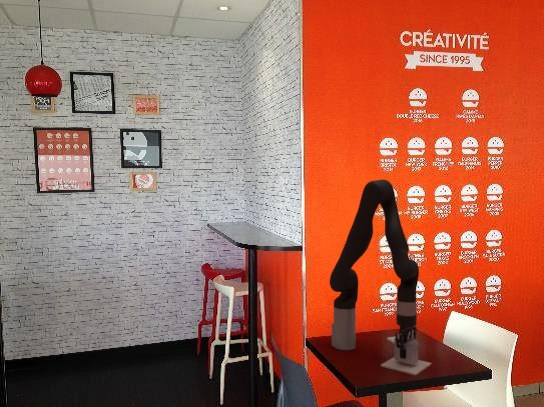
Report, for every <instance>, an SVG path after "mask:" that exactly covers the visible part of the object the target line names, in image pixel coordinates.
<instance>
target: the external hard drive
mask: <svg viewBox="0 0 544 407" xmlns="http://www.w3.org/2000/svg"><path fill="white" fill-rule="evenodd" d="M394 338H396V337H395V336H389V337H386V341H388V342H389V343H392V344H393V345H394ZM418 348H420V344H419V343H418Z"/></svg>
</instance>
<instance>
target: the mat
mask: <svg viewBox="0 0 544 407" xmlns="http://www.w3.org/2000/svg"><path fill="white" fill-rule="evenodd" d="M431 365H432V362H428V361H425V360H420V359H418V362H417V363H415V364H413V365H410V364H407V363H404V362H401V361H398V360H394V356H393V357H392V358H390V359H388V360H387V361H385V362H383V363H381V364H380V367H382V368H386V369H390V370H394V371H397V372H399V373H404V374H408V375H411V376H417V375H419V374H420V373H421V372H423V371H424V370H426V369H428V368H429V367H430V366H431Z"/></svg>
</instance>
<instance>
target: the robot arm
mask: <svg viewBox="0 0 544 407" xmlns="http://www.w3.org/2000/svg"><path fill="white" fill-rule="evenodd" d="M395 193H396V192H395V190H394V186H393V184H392V182H390V181H389V180H387V179H377V180H371V181H368V182H367V183H366V184H365V186H364V187H363V190H362V193H361V196H360V201H359V205H358V209H357V210H356V214H355V217H354V220H353V222H352V225H351V227H350V230H349V231H348V234H347V237H346V240H345V243H344V246H343V248H342V250H341V253H340V255H339V258H338V259H337V262H336V264H335V266H334V268H333V269H332V271H331V273H330V277H329V287H330V289H331V290H332V291H334V292H336V293H340V294H339V295H338V296H336V298H335V299H334V300H333V323H331V347H333V348H335V349H336V350H339V351H351V350H354V349H356V339H357V338H356V329H357V328H356V325H357V324H356V316H357V313H356V312H357V311H356V309H357V308H356V307H357V306H356V305H357V301H358V296H359V277H358V274H357V272H356V270H354V269H353V266H354V265H355V264H356V262H358V261H359V260H360V259H361V258H362V256H363V255H364V254H365V253H366V251H367V250H368V249H369V246H370V244H371V241H372V239H373V235H374V224H373V220H374V216H375V214H376V212H377V209H378V208H379V205H380V206H381V207H380V208H382V212H383V215H384V235H385V239H386V240H385V241H386V242H387V245H388V248H389V250H390V253H391V262H392V266H393V270H394V273H395V275H396V277H398V279H400V282H399V285H398V286H397V291H396V292H397V293H396V295H397V296H396V308H395V309H396V312H395V313H396V316H395V318H396V319H395V320H396V325H397V326H399V329H398V333H397V332H396V333H395V334H394V337H396V346H397V348H400V358H402V359H405V358H406V344H407V343H408V341H409V339H410V338H411V339H415V340H417V338H416V337H417V331H418V330H417V329H418V327H417V324H418V322H417V321H418V320H417V319H418V318H417V317H418V314H417V313H418V312H417V310H418V306H417V287H418V282H419V275H420V270H419V269H420V268H419V265H418V263H417V261H415V260H414V259H411V258H409V251H410V247H409V243H408V240H407V238H406V235H405V232H404V229H403V226H402V223H401V219H400V215H399V209H398V204H397V199H396V194H395ZM403 339H404V340H406V341H404V340H403Z"/></svg>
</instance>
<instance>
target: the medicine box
mask: <svg viewBox="0 0 544 407" xmlns="http://www.w3.org/2000/svg"><path fill="white" fill-rule="evenodd" d="M403 340H404V339H403ZM404 341H406V340H404ZM418 344H419V341H418V339H416V340H415V339H411V338H410V339H409V341H408V343H407V344H406V358H405V359H402V358H400V348H397V346H396V338H394V344H393V345H394V347H393V348H394V353H393V355H394V356H393V357H394V360H398V361H401V362H404V363H407V364H410V365H413V364H415V363H417V362H418V360H419V347H418Z"/></svg>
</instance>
